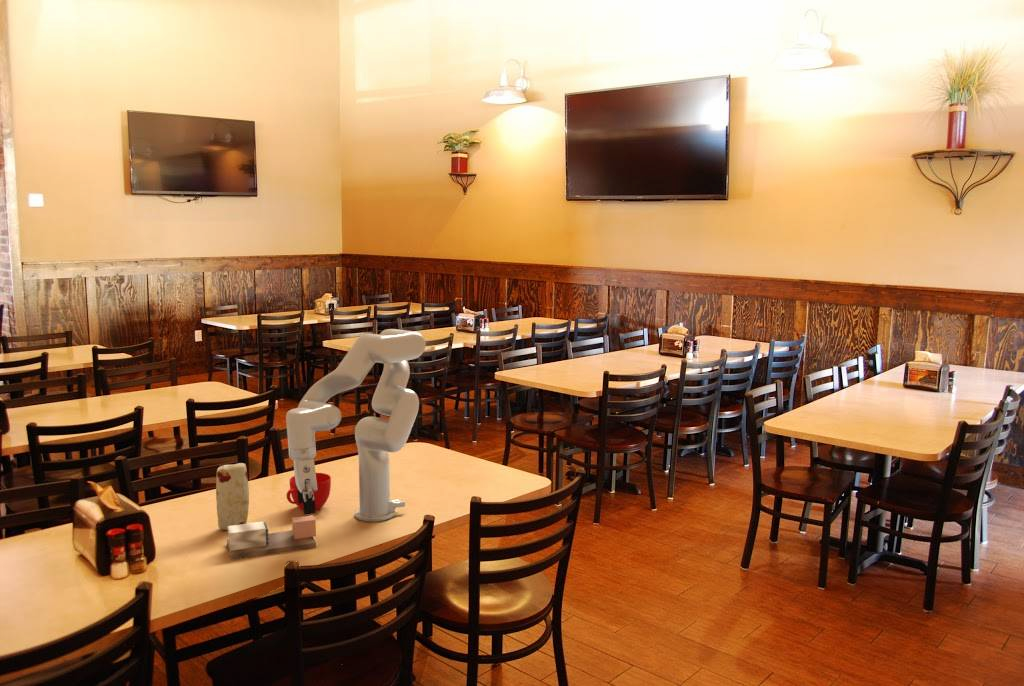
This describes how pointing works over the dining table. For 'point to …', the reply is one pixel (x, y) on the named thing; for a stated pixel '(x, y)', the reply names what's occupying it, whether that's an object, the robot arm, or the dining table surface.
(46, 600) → the dining table surface
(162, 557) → the dining table surface
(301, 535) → the stub
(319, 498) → the ceramic cup
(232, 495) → the food model
